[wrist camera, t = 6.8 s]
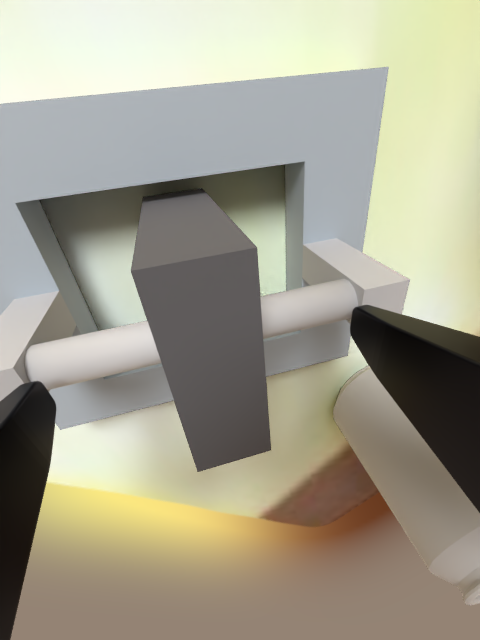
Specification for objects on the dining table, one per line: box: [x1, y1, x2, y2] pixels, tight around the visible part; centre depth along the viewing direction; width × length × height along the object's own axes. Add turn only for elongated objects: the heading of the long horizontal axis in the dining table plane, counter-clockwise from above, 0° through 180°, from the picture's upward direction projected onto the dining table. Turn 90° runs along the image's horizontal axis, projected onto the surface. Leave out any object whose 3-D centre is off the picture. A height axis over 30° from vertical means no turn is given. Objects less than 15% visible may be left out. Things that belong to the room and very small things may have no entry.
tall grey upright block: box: [131, 188, 271, 472], centre depth 11 cm, size 2×7×8 cm, turn 6°
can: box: [333, 366, 480, 605], centre depth 18 cm, size 8×8×12 cm
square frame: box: [0, 67, 410, 430], centre depth 11 cm, size 16×13×6 cm
